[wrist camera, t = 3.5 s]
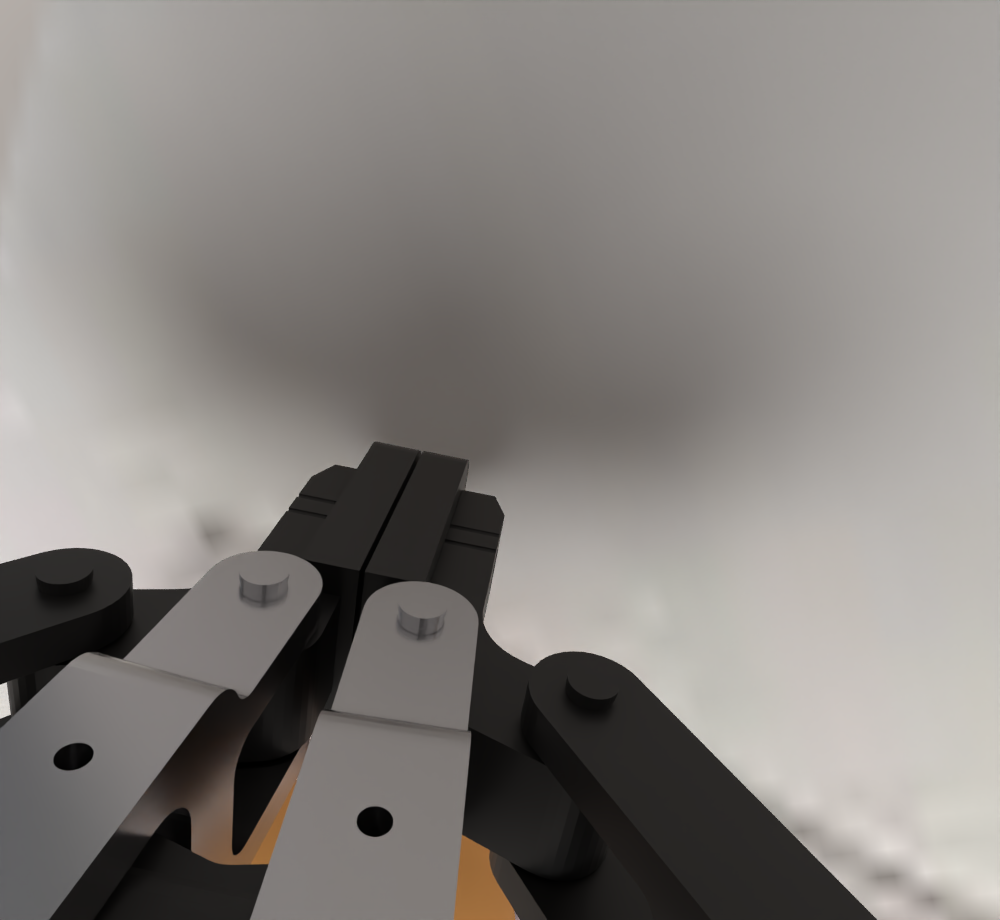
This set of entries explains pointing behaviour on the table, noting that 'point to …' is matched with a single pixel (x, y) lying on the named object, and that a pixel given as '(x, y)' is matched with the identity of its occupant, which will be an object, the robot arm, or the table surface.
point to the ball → (478, 897)
